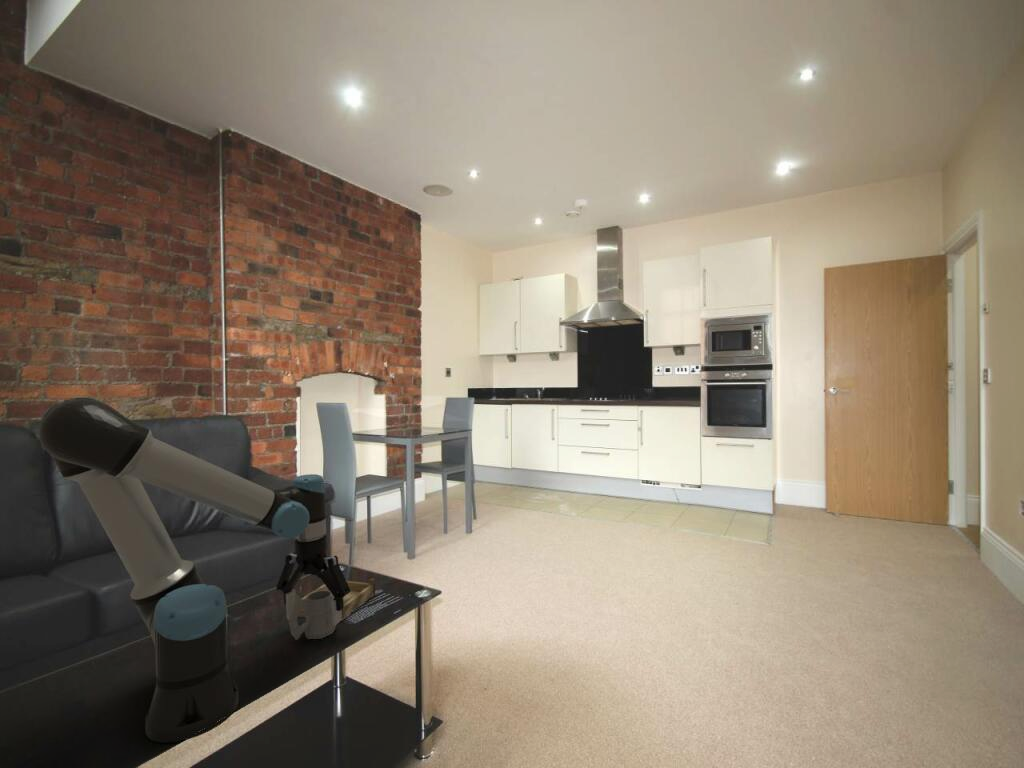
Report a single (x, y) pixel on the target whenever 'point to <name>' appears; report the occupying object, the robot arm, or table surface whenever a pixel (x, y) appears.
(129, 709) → the table surface
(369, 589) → the wooden tray
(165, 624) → the robot arm
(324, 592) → the mug
